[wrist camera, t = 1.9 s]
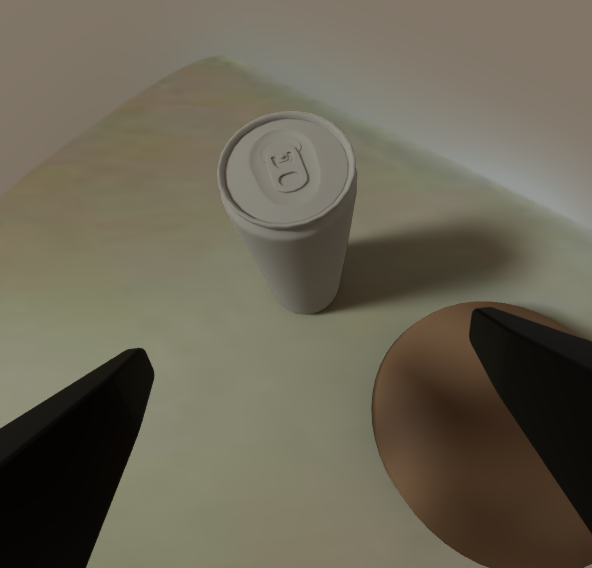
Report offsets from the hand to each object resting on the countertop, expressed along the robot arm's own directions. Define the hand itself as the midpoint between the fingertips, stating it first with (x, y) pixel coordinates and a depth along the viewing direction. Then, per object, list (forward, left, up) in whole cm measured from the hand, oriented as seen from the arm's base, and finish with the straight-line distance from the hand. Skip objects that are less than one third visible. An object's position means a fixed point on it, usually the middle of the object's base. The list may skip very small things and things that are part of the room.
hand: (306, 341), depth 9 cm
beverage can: (+6, 0, -12) cm, 13 cm away
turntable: (-4, -8, -10) cm, 14 cm away
